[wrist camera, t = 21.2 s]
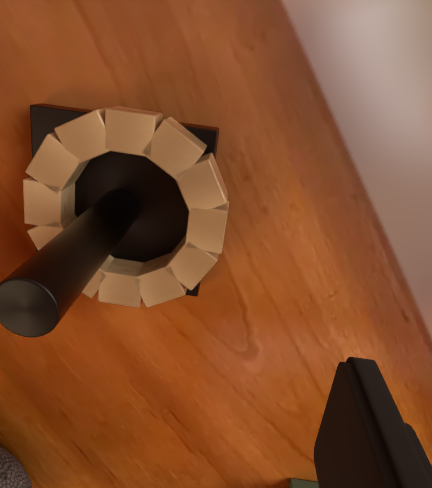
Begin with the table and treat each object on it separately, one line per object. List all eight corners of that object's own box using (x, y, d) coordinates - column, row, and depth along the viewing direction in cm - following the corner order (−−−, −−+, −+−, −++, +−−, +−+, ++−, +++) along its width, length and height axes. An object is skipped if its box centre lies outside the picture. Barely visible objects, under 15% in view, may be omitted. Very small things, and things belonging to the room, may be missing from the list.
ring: (241, 124, 19) (241, 129, 18) (213, 302, 23) (210, 319, 21) (38, 93, 19) (19, 94, 18) (42, 275, 23) (26, 291, 21)
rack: (219, 127, 21) (195, 178, 10) (199, 286, 24) (166, 445, 14) (40, 103, 21) (-162, 128, 10) (46, 265, 24) (-103, 406, 14)
